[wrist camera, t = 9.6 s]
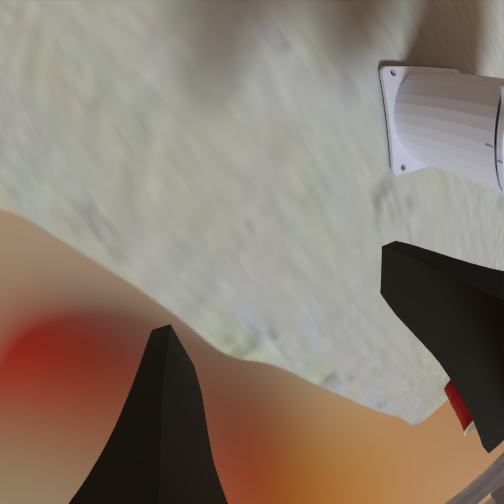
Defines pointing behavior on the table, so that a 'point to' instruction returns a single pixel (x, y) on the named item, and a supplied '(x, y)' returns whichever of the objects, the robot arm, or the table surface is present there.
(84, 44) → the table surface
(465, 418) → the plastic cup
